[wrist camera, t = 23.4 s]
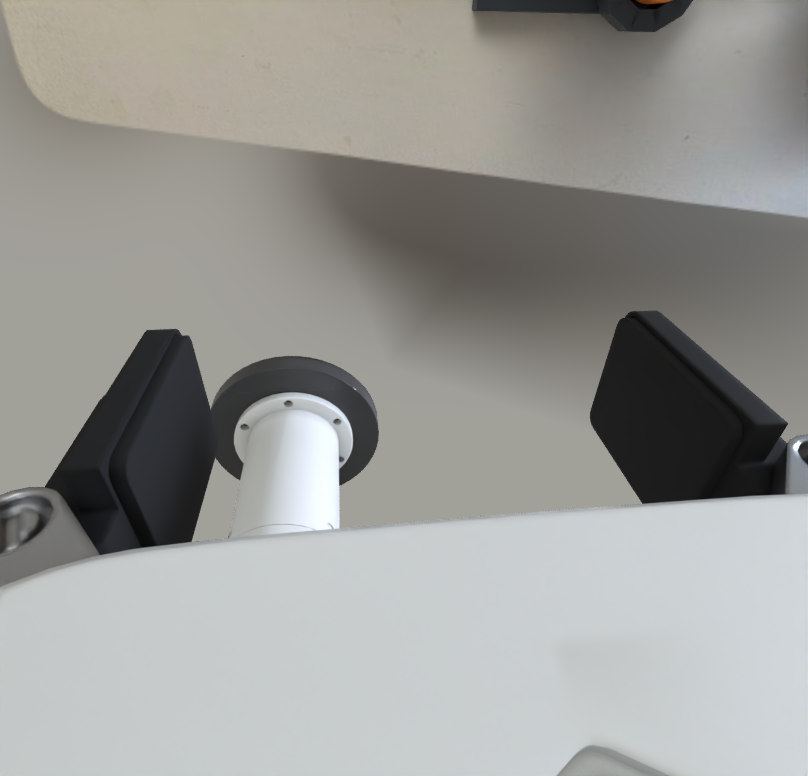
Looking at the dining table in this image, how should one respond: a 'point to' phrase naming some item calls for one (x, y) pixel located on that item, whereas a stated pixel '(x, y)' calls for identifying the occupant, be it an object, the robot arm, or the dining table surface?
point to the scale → (598, 10)
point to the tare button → (652, 1)
